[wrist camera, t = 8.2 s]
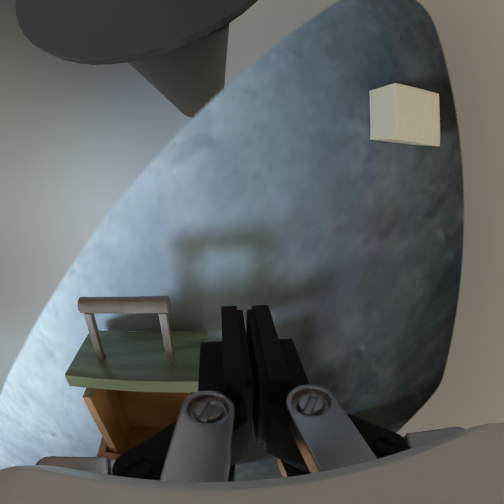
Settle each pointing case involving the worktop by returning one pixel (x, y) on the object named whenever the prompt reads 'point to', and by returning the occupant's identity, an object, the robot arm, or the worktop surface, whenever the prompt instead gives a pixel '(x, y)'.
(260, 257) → the worktop surface
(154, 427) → the drawer
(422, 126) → the block
